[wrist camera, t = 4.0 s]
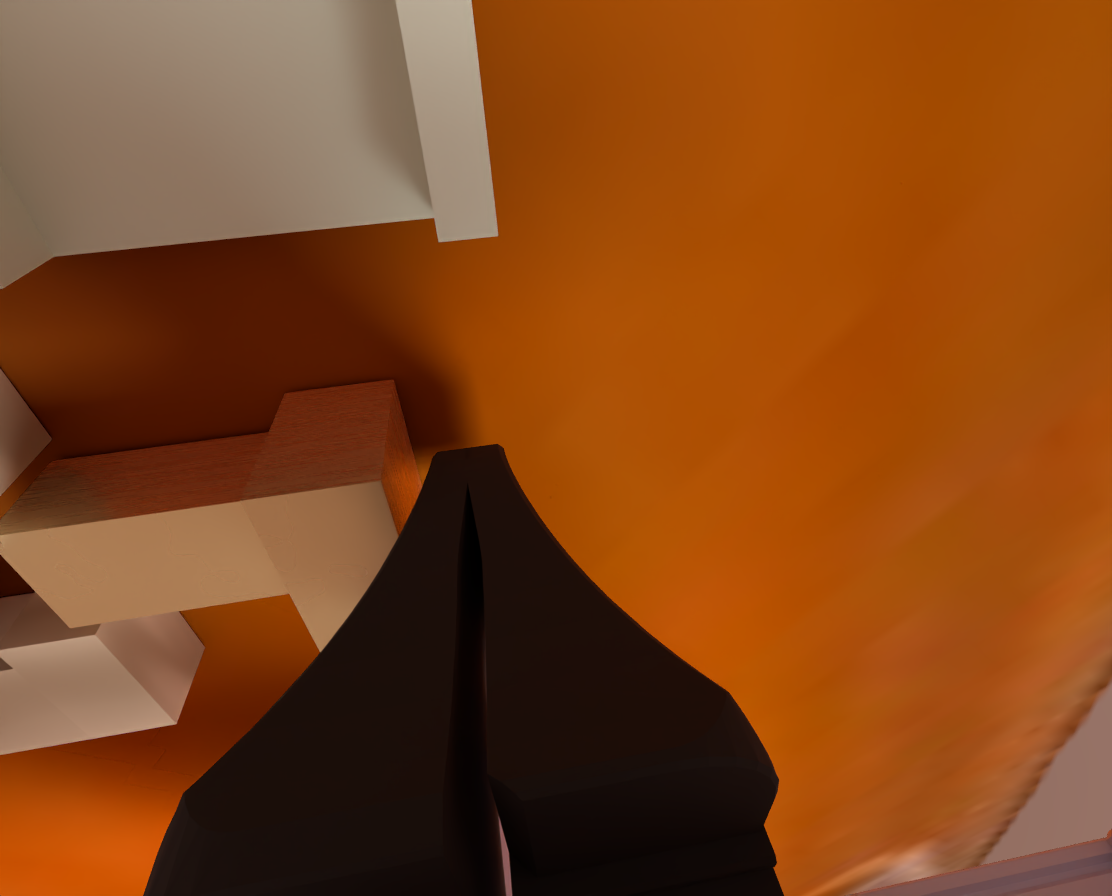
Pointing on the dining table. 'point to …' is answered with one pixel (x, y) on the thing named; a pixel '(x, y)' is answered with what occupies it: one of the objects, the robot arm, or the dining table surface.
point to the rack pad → (235, 122)
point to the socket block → (80, 645)
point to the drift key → (225, 516)
